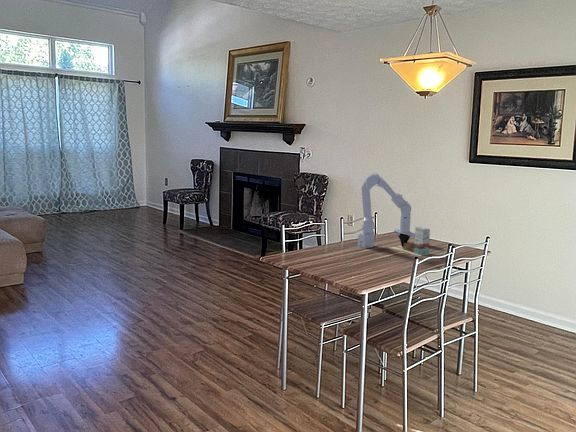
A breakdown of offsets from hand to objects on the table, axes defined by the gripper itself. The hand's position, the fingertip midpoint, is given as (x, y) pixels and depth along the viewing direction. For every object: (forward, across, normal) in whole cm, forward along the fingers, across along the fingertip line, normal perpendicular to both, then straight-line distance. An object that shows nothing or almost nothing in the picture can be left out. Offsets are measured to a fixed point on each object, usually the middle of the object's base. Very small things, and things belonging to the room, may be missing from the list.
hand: (403, 247), depth 295 cm
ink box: (+2, 0, -17) cm, 17 cm away
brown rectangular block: (+1, -8, 0) cm, 8 cm away
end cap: (+1, -13, 0) cm, 13 cm away
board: (+2, -5, 0) cm, 5 cm away
